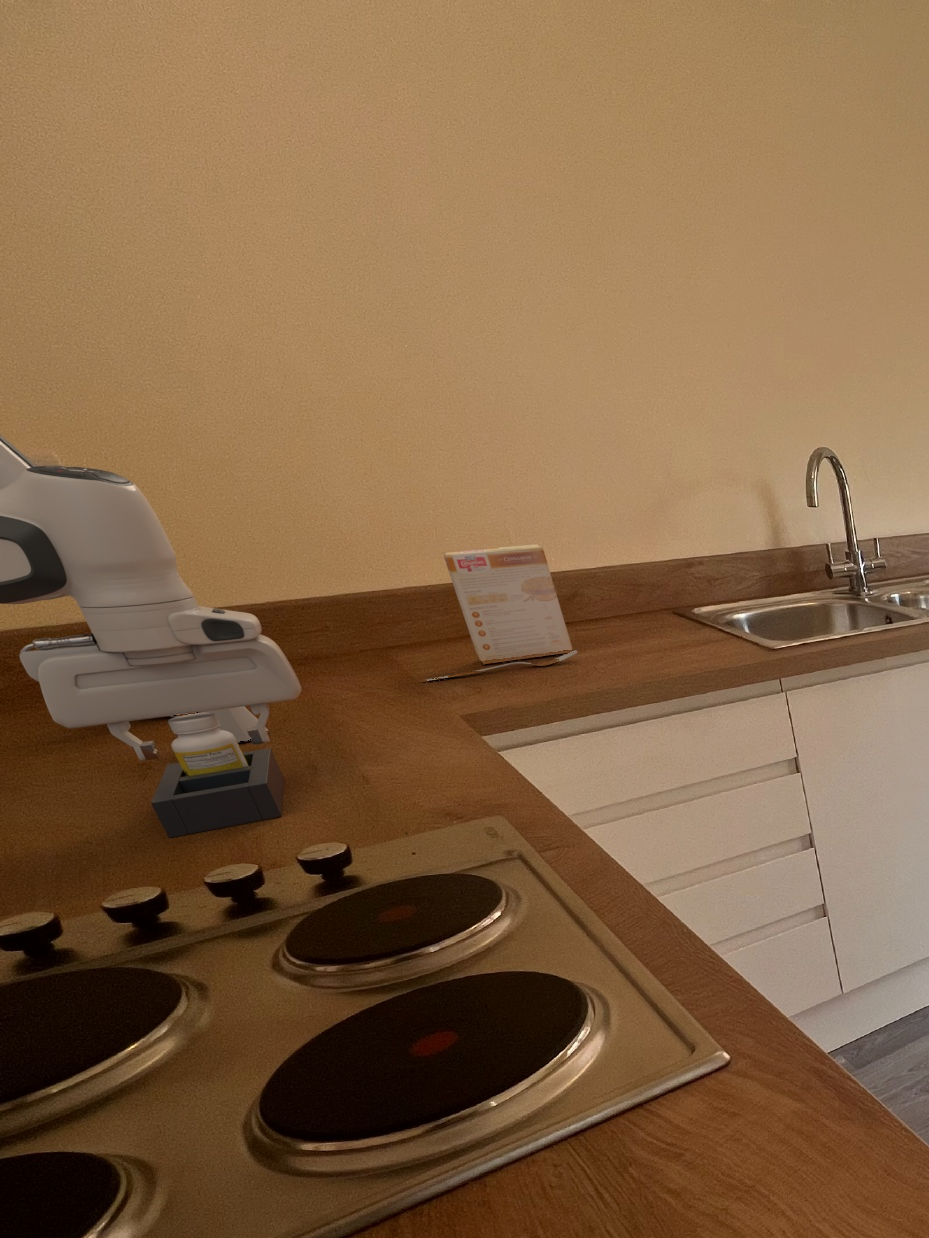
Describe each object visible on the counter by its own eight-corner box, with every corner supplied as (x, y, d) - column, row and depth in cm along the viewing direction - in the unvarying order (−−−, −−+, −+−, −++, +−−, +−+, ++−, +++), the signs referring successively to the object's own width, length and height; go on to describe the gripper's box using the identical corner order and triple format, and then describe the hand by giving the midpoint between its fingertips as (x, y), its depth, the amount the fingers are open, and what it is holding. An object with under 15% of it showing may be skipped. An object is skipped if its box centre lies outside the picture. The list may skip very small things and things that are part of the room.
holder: (168, 838, 101) (150, 802, 99) (183, 796, 113) (167, 764, 111) (281, 816, 106) (266, 782, 104) (284, 778, 118) (270, 747, 116)
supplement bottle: (213, 793, 113) (175, 713, 109) (269, 787, 115) (233, 708, 111) (189, 808, 109) (148, 725, 105) (247, 802, 110) (209, 720, 106)
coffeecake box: (567, 648, 187) (537, 543, 178) (574, 653, 182) (544, 546, 173) (477, 659, 178) (441, 550, 170) (482, 666, 173) (444, 553, 165)
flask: (219, 734, 136) (186, 664, 131) (280, 729, 138) (249, 660, 133) (189, 749, 129) (153, 676, 125) (253, 743, 131) (220, 672, 127)
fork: (420, 680, 164) (416, 670, 163) (578, 658, 178) (575, 649, 177) (422, 684, 161) (418, 673, 161) (582, 661, 175) (579, 652, 175)
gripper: (3, 646, 95) (73, 776, 101) (271, 621, 107) (319, 739, 113) (16, 636, 100) (83, 762, 106) (273, 613, 111) (319, 728, 117)
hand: (207, 750), depth 109 cm, fingers open, 8 cm apart
